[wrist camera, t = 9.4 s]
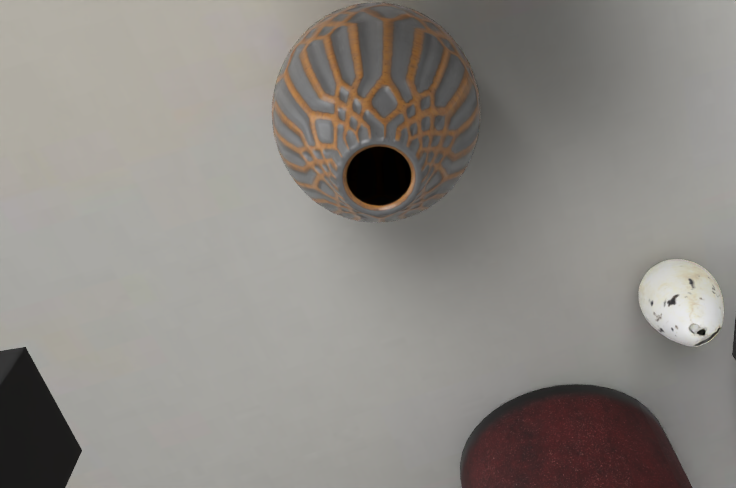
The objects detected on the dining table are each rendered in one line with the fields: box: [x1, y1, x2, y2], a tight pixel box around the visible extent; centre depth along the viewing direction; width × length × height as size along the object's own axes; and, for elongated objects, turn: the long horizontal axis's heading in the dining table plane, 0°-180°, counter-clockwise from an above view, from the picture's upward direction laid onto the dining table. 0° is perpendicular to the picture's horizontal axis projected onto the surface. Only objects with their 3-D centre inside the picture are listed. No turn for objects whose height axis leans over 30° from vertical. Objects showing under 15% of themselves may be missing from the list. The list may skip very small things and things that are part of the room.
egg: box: [638, 259, 724, 347], centre depth 29 cm, size 3×3×5 cm
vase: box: [272, 3, 480, 222], centre depth 23 cm, size 7×7×9 cm
